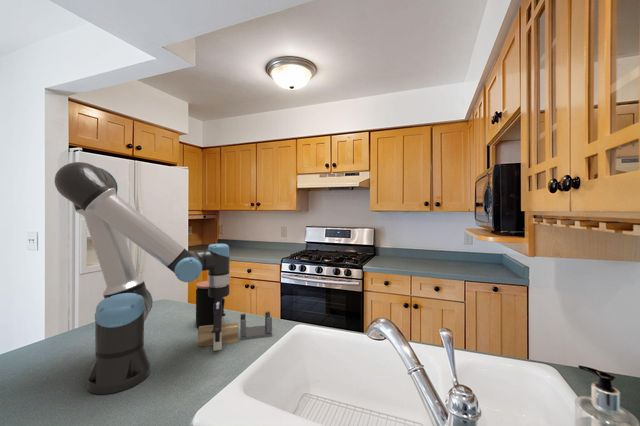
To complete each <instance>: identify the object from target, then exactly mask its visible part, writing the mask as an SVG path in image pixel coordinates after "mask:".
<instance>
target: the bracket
mask: <svg viewBox="0 0 640 426" xmlns="http://www.w3.org/2000/svg"><path fill="white" fill-rule="evenodd" d="M239 335H240V337H239V338H240V341H242V340H251V339H260V338H270V337H273V318H272V316H271V311H269V310H268V311H265V312H264V325H256V326H255V325H254V326H247V318H246V313H240V334H239Z"/></svg>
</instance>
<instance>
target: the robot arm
mask: <svg viewBox="0 0 640 426" xmlns="http://www.w3.org/2000/svg"><path fill="white" fill-rule="evenodd" d="M54 186H55V188H56V190H57V192H58V193H59V194H60V195H61V196H62V197H63V198H66V200H68V201H70V202H71V203H72V204H73V207H74V210H75V212H76V213H78V214H80V215H82V216H83V217H84V221H85V223H86V227H87V230H88V232H89V236H90V239H91V242H92V245H93V248H94V251H95V254H96V258H97V260H98V263H99V266H100V269H101V272H102V276H103V280H104V281H105V282H104V283H105V285H106V288H105V290H104V291H103V293H102V295H103V298H104V299H101V300H100V302H98V304H97V305H96V307H95V313H94V321H95V322H94V323H95V327H94V328H95V330H94V332H95V333H94V335H95V337H94V338H95V339H94V341H95V344H94V345H95V347H94V348H95V349H94V351H95V352H94V353H95V356H94V361H93V363H92V366H91V368H90V371H89V374H88V377H87V379H86V382H87V383H86V384H87V385H86V387H87V391H88V392H89V393H92V394H94V395H107V394H113V393H118V392H122V391H125V390H127V389H128V390H129V389H130V388H133V387H135V386H136V385H139V384H140V383H141V382H143V381H144V380H146V379H147V378H148V377H149V375H150V373H151V360H150V358H149V355H148V353H147V351H146V349H145V322H146V320H147V318H148V316H149V314H150V312H151V311H152V307H153V302H154V301H153V296H152V293H151V292H150V290H148V289H147V286H146V283H145V280H144V278H141V277H138V275H137V272H136V268H135V265H134V263H133V259H132V256H131V253H130V250H129V247H128V243H127V241H126V240H127V239H128V240H129V241H131V242H132V243H134V244H136V245H137V246H138V247H139V248H141V249H142V250H143V251H145V252H146V253H147V254H149V255H150V256H151V257H153V258H154V259H155V260H157V261H159V263H161V264H163V266H165V267H166V268H167V269H169V270H170V271H171V272H173V273H174V275H175V276H176V278H177V280H179V281H180V282H182V283H192V282H194V281H196V280H197V279H199V277H200V276H201V274H202V272H203V271H207V274H208V275H207V278H208V279H207V281H208V285H209V287H208V296H209V297H211V298H215V300H214V302H213V307H214V308H213V313H214V325H213V331H211V333H213V345H212V347H213V351H214V352H215V351H221V350H223V349H222V346H223V344H222V329H221V324H225V323H224V322H225V320H224V319H225V318H224V317H226V312H225V309H224V308H225V300H226V299H225V297H228V296H229V295H230V285H229V284H230V279H231V278H232V275H230V264H231V263H230V257H231V256H230V246H229V245H228V244H227V243H211V244H209V245H208V247H207V249H204V250H187V249H186V248H185V247H183V246H182V245H181V244H180V243H178V242H177V241H176V240H174V239H173V238H172V237H171V236H170V235H169V234H167V233H166V232H165V231H163V230H162V229H161V228H159V227H158V225H156V224H154V223H153V222H152V221H150V219H148V218H147V217H146V216H145V215H143V214H142V213H140V212H139V211H138V210H137V209H135V207H133V206H132V205H131V204H129V203H128V202H126V201H125V200H124V199H123V198H122V197H120V195H118V187H119V185H118V182H117V180H116V178H115V177H114V176H113V174H111V173H110V172H109V171H107V170H106V169H103V168H101V167H98V166H96V165H93V164H90V163H88V162H83V161H76V162H75V161H74V162H70V163H67V164H65V165H63V166H61V167H60V168H59V169H58V170H57V171H56V173H55V176H54ZM126 238H127V239H126ZM217 328H219V329H217Z"/></svg>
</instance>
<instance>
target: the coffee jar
mask: <svg viewBox="0 0 640 426" xmlns="http://www.w3.org/2000/svg"><path fill="white" fill-rule="evenodd" d="M195 286H196V290H195V325H196V327H197V329H199V326H208V325H214V313H213V308H214V307H213V302H214V300H215V298H211V297H209V296H208V287H209V285H208V280H204V281H199V282H197V283H196V284H195Z"/></svg>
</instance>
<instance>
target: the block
mask: <svg viewBox="0 0 640 426" xmlns="http://www.w3.org/2000/svg"><path fill="white" fill-rule="evenodd" d="M197 329H198V330H197V347H206V346H213V333H211V331H213V325H208V326H199V328H197ZM217 329H219V328H217ZM221 329H222V345H224V344H233V343H238V342H239V322H231V323H230V322H229V323H224V324H221Z"/></svg>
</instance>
